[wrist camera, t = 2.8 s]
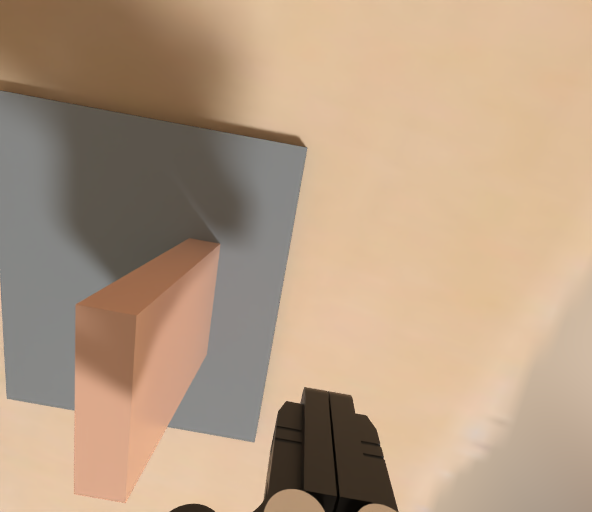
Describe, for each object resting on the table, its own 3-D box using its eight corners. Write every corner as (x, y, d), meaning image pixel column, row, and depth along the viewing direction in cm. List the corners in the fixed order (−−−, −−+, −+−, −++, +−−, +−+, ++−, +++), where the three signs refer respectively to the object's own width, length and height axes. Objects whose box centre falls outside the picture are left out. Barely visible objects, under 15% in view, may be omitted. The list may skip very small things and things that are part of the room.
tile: (186, 237, 16) (69, 303, 8) (220, 243, 16) (136, 315, 8) (175, 348, 17) (69, 493, 10) (206, 354, 17) (125, 502, 10)
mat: (2, 91, 15) (-11, 88, 14) (307, 148, 15) (307, 147, 15) (15, 391, 19) (6, 398, 19) (256, 434, 19) (254, 442, 19)
